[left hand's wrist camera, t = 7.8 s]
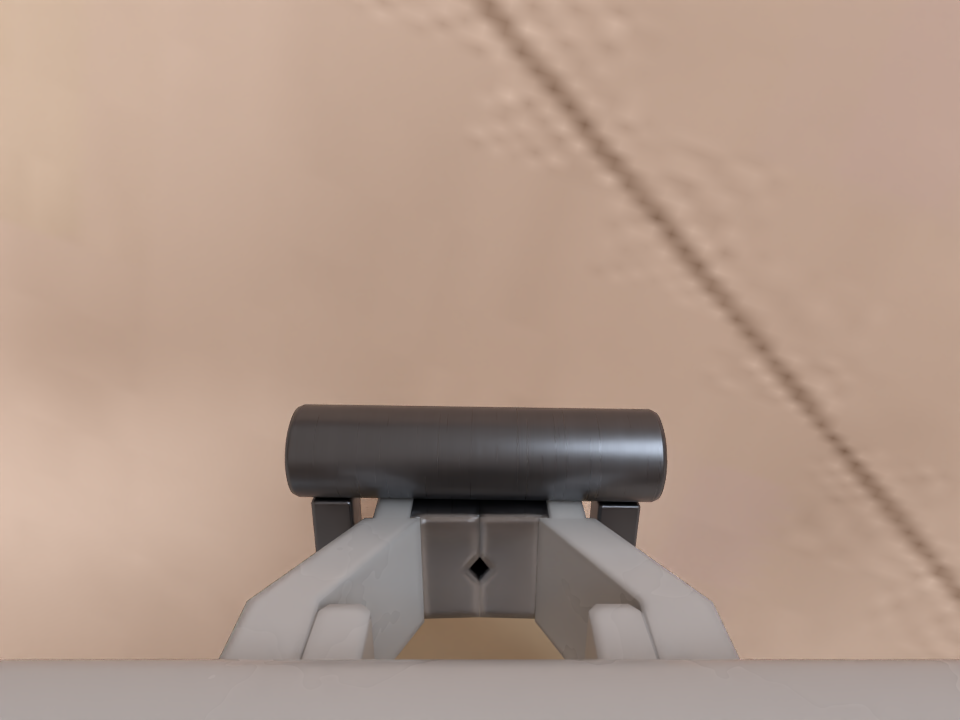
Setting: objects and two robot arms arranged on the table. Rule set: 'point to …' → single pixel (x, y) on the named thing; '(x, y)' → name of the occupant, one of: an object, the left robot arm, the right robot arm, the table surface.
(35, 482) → the table surface
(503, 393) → the table surface
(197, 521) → the table surface
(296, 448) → the drawer
